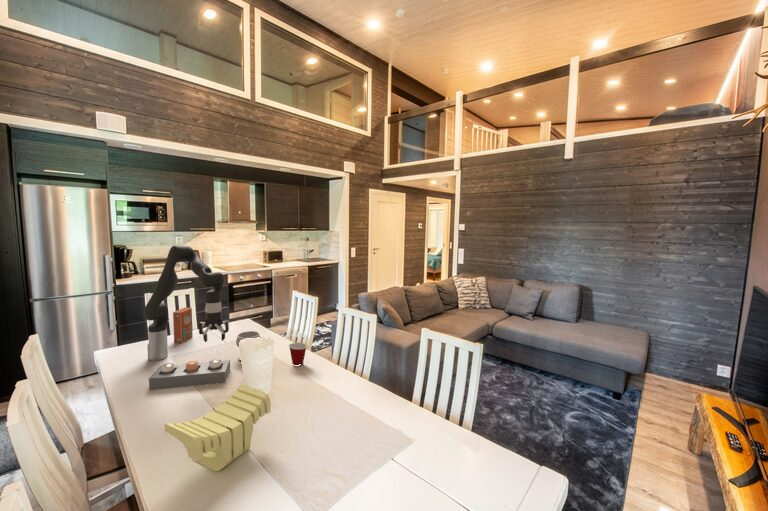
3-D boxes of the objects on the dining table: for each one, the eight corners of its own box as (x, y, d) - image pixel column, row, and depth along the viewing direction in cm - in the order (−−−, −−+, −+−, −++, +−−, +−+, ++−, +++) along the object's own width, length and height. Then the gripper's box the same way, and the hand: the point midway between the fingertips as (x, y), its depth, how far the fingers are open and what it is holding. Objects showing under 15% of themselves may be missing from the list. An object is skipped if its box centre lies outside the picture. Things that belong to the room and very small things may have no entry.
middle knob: (184, 375, 168) (184, 365, 168) (187, 370, 174) (187, 361, 173) (196, 374, 170) (196, 364, 170) (199, 369, 175) (199, 360, 175)
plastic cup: (310, 365, 193) (310, 346, 191) (292, 370, 186) (292, 349, 185) (303, 359, 201) (303, 340, 200) (286, 363, 195) (286, 343, 194)
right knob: (208, 373, 172) (208, 363, 171) (210, 368, 177) (210, 359, 176) (220, 372, 173) (219, 363, 173) (222, 367, 178) (221, 358, 178)
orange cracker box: (194, 336, 236) (181, 343, 221) (185, 336, 236) (171, 343, 221) (193, 307, 234) (180, 312, 219) (184, 306, 234) (170, 312, 219)
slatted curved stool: (198, 492, 101) (196, 438, 100) (166, 474, 108) (164, 423, 107) (270, 437, 128) (270, 393, 127) (241, 425, 135) (241, 384, 133)
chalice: (233, 363, 193) (233, 338, 192) (239, 354, 207) (238, 331, 205) (258, 362, 196) (258, 337, 194) (262, 353, 209) (262, 330, 208)
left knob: (159, 377, 165) (159, 368, 165) (164, 372, 171) (163, 363, 170) (172, 376, 167) (172, 366, 166) (176, 371, 172) (175, 362, 172)
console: (149, 390, 161) (148, 378, 160) (160, 376, 175) (160, 365, 174) (225, 382, 170) (225, 371, 169) (230, 370, 184) (229, 360, 184)
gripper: (229, 307, 177) (230, 337, 179) (200, 309, 173) (201, 339, 175) (227, 311, 170) (228, 342, 172) (196, 313, 166) (197, 344, 168)
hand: (214, 340), depth 173 cm, fingers open, 7 cm apart
